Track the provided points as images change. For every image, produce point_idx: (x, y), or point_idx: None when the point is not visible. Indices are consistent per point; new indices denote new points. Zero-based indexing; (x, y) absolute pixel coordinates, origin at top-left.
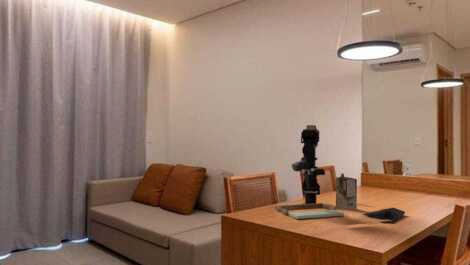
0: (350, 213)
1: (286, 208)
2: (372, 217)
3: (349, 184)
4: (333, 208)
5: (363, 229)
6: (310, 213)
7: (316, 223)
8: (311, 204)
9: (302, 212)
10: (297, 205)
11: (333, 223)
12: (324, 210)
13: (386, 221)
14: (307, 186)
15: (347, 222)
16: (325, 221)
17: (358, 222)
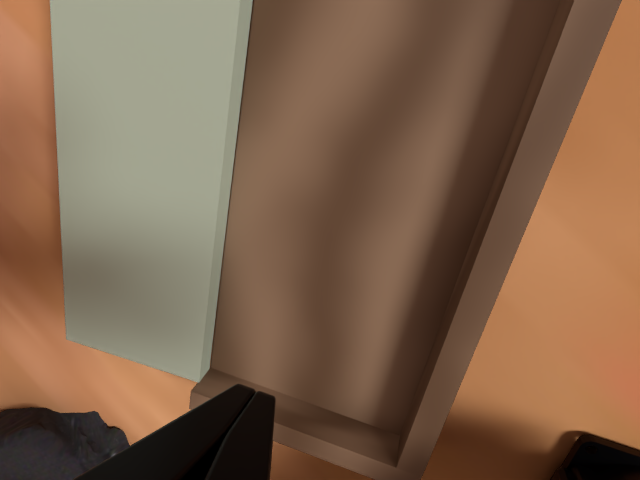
0: None
1: (557, 20)
2: (18, 422)
3: None
4: (199, 390)
5: None
6: (121, 59)
7: (47, 21)
8: (431, 371)
9: (198, 13)
10: (498, 200)
11: (26, 154)
12: (201, 296)
13: None
14: (258, 414)
15: (32, 261)
16: None
17: (21, 317)
